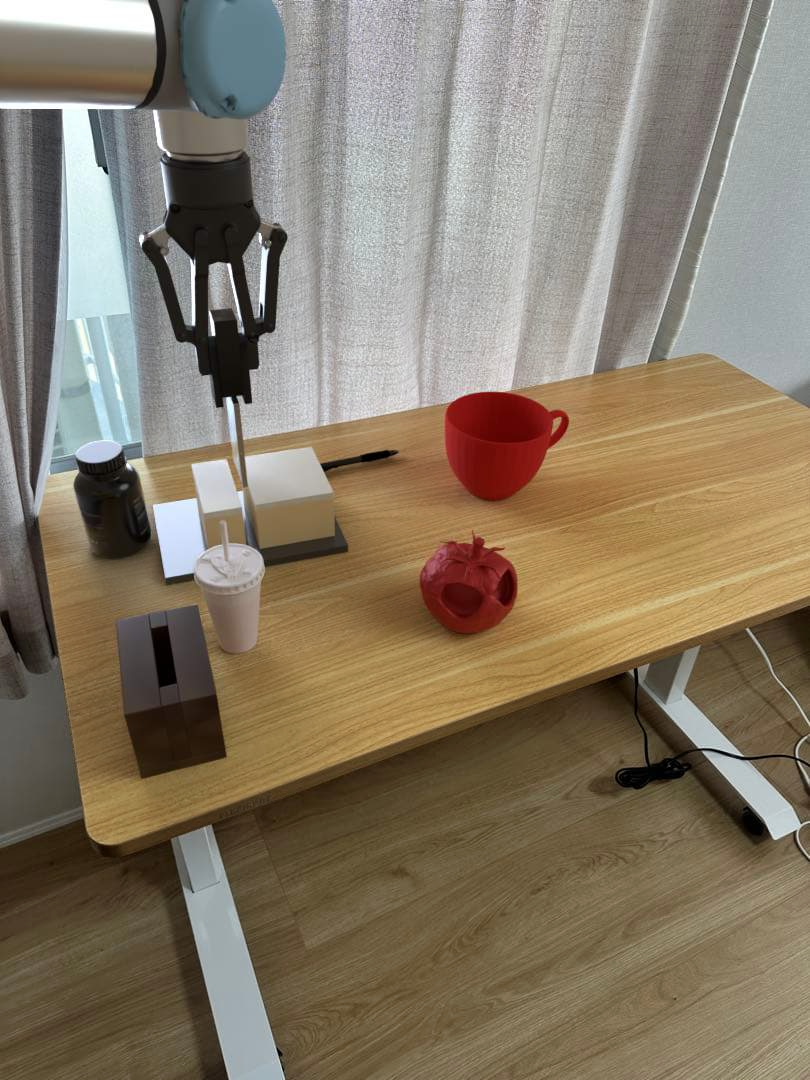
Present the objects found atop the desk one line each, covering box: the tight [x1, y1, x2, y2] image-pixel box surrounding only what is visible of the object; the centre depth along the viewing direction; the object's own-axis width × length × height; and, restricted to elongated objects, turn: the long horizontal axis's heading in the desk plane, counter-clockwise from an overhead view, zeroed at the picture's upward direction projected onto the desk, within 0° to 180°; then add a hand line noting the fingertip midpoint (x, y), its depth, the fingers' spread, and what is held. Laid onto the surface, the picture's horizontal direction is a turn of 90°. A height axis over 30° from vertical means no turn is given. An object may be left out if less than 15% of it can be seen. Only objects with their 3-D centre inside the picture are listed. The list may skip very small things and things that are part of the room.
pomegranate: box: [418, 529, 519, 634], centre depth 81 cm, size 10×10×9 cm
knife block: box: [115, 603, 228, 779], centre depth 69 cm, size 7×11×8 cm, turn 19°
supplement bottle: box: [72, 439, 153, 560], centre depth 87 cm, size 7×7×12 cm
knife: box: [208, 307, 248, 488], centre depth 83 cm, size 2×6×18 cm, turn 19°
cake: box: [241, 446, 335, 549], centre depth 92 cm, size 9×10×6 cm
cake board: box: [152, 490, 349, 586], centre depth 93 cm, size 20×14×1 cm
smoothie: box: [194, 520, 266, 654], centre depth 75 cm, size 6×6×14 cm
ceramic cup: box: [444, 391, 570, 501], centre depth 100 cm, size 13×17×10 cm
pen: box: [319, 449, 399, 473], centre depth 104 cm, size 14×2×1 cm, turn 113°
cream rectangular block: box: [190, 458, 246, 549], centre depth 90 cm, size 4×10×6 cm, turn 19°
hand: (232, 399), depth 83 cm, fingers closed on knife, 2 cm apart
